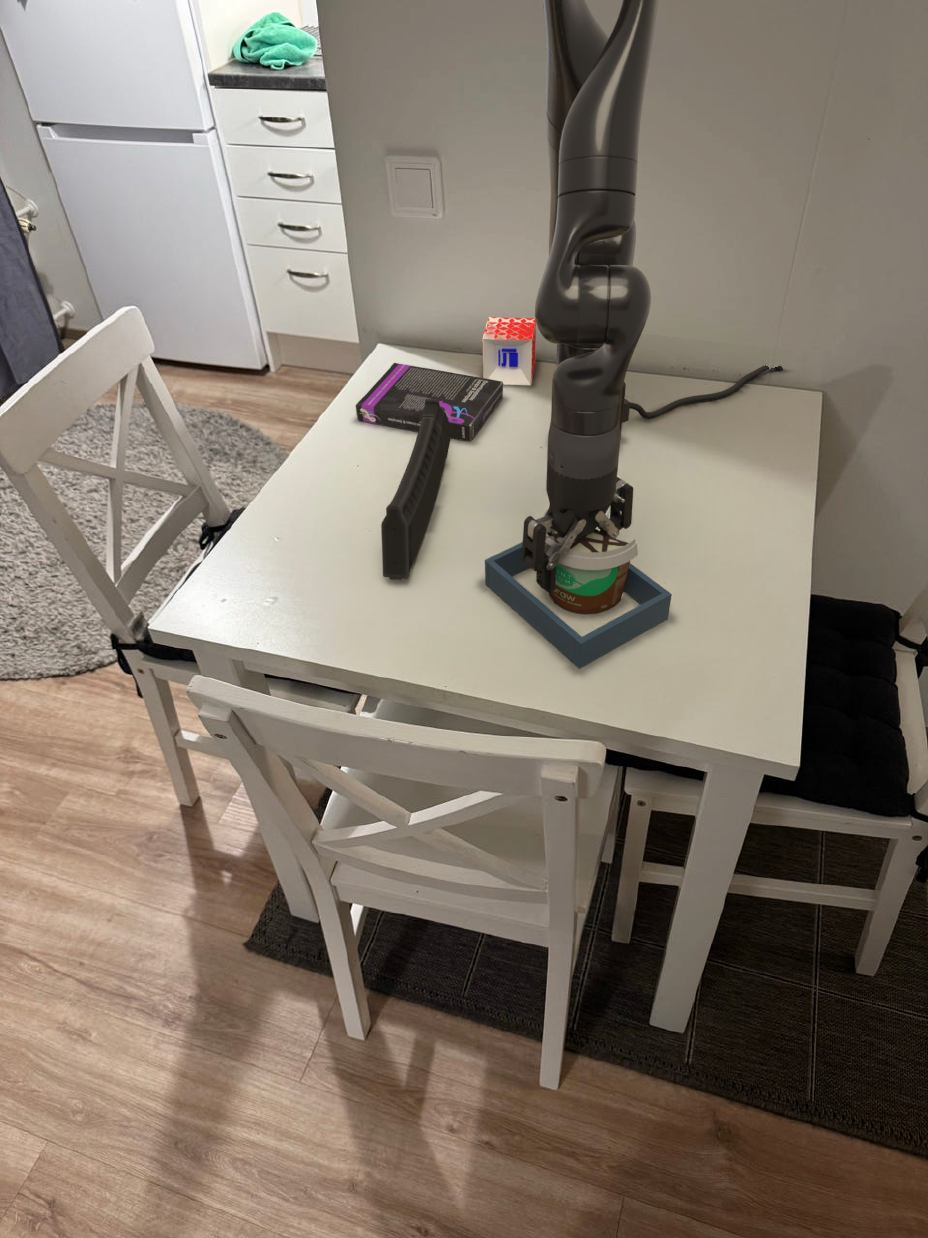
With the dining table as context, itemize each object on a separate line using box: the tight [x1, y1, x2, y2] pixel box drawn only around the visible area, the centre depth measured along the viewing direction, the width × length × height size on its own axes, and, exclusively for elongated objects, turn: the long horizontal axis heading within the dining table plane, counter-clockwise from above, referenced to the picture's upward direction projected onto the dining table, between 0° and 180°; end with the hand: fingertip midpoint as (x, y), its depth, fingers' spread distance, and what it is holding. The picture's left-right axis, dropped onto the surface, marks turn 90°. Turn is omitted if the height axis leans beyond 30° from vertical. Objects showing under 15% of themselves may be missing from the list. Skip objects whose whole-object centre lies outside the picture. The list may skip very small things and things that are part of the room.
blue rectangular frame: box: [484, 541, 673, 669], centre depth 109 cm, size 14×18×4 cm
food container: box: [542, 507, 639, 615], centre depth 107 cm, size 12×6×10 cm, turn 55°
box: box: [354, 362, 504, 443], centre depth 143 cm, size 14×4×20 cm
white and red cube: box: [481, 316, 537, 386], centre depth 150 cm, size 8×8×8 cm
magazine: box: [380, 399, 452, 581], centre depth 120 cm, size 17×3×30 cm
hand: (575, 574), depth 107 cm, fingers open, 8 cm apart
